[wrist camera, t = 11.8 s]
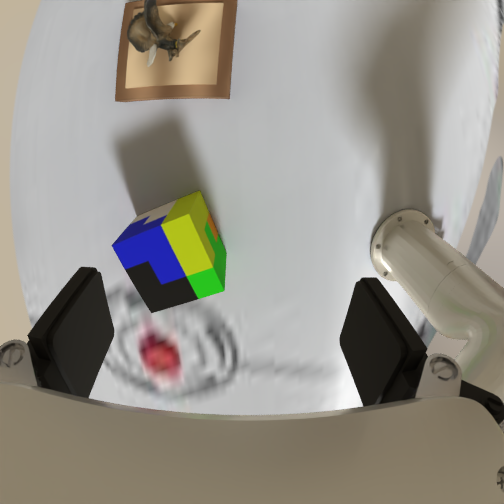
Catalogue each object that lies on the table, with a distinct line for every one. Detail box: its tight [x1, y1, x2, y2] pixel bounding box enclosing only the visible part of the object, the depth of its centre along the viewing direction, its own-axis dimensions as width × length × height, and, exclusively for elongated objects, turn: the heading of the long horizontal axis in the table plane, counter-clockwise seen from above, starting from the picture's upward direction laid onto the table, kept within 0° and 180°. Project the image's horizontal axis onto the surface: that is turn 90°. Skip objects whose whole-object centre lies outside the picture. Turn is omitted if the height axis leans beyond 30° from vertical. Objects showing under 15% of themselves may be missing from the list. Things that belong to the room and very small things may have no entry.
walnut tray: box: [115, 0, 237, 102], centre depth 28 cm, size 14×14×4 cm
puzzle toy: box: [112, 191, 227, 313], centre depth 37 cm, size 10×10×10 cm
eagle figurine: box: [127, 0, 201, 67], centre depth 23 cm, size 8×7×9 cm
